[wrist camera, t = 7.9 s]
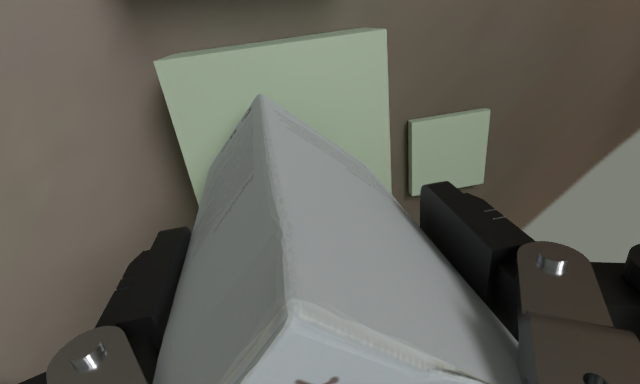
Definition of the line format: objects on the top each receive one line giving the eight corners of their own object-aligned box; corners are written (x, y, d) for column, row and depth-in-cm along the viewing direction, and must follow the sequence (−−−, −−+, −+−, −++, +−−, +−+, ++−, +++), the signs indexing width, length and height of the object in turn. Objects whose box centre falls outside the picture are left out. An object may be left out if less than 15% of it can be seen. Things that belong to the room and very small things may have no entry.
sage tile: (484, 107, 22) (490, 109, 22) (478, 179, 24) (483, 183, 24) (408, 120, 22) (411, 122, 21) (408, 192, 24) (412, 196, 23)
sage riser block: (363, 27, 19) (386, 28, 15) (372, 192, 23) (392, 222, 20) (174, 53, 18) (153, 61, 15) (221, 219, 23) (214, 255, 19)
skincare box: (205, 172, 15) (68, 552, 4) (262, 83, 14) (268, 298, 3) (320, 234, 17) (420, 586, 7) (377, 162, 16) (615, 448, 5)
